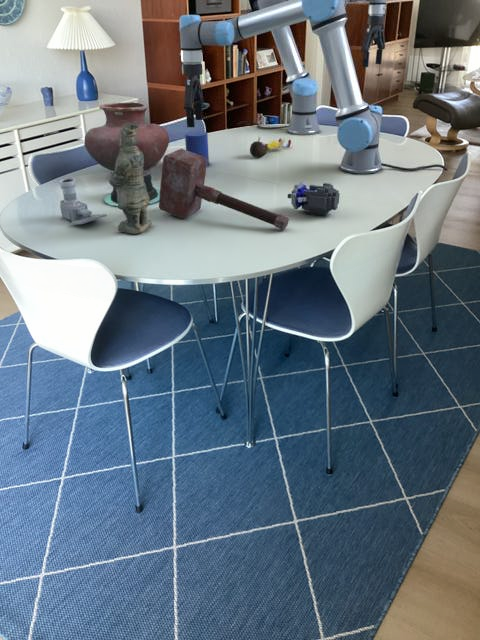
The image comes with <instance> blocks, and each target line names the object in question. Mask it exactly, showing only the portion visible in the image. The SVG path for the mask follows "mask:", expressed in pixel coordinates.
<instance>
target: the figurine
mask: <svg viewBox="0 0 480 640" xmlns="http://www.w3.org/2000/svg"><path fill="white" fill-rule="evenodd" d="M261 138H262V136H261V135H258V138H257V140H256V141H253V142H252V143H251V144H250V147H249V153H250V155H251V156H252V157H253V158H262V157H264V156H266V154H267V152H268V151H277V150H280V148H290V147H291V144H292V140H291V139H289V140H288V141H287V143H286V139H285V138H279V139H278V141H276V140H274V141H273V140H272V141H271V142H268V143H264V142H262V141H261Z"/></svg>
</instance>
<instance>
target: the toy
mask: <svg viewBox="0 0 480 640" xmlns="http://www.w3.org/2000/svg"><path fill="white" fill-rule="evenodd" d="M293 187H294V188H293V189H292V191H291V193H288V194H287V199H291V200H290V201H291V202H290V203H291V206H292V207H293V210H298V209H299V208H301V210H303V211H306V212H307V214H310V215H311V214H312V215H318V216H326V215H328V213H330V212H331V211H336V210H337V209H338V205H339V204H340V194H341V193H340V190H338V189H337V188H335V187H334V184H332V183H328V182H324V183H322V185H315V184H310V185H309V186H308V187H309V188H308V187H307V185H306V184H305V183H304V181H301V180H299V181H298V182H296V183H295V184H294V186H293Z"/></svg>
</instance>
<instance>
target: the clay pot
mask: <svg viewBox="0 0 480 640" xmlns="http://www.w3.org/2000/svg"><path fill="white" fill-rule="evenodd" d="M98 108H99V109H100V110H103V112H104V115H105V124H104V125H101V126H97V127H92V128H90V129H88V130H87V131H86V134H85V135H84V140H83V145H84V148H85V150H86V151H87V153H88V154H89V156H90V157H91V158H92V159H93V160H94V161H95V162H96V163H98V164H99V165H100V166H101V167H103V168H105V169H107V170H109V171H111V172H114V170H115V164H116V160H117V156H118V154H119V151H120V147H119V140H118V138H119V133H120V130H121V129H123V128H124V127H125V126H126V125H127V124H128V123H131V122H133V121H137V122H138V123H139V127H138V130H137V131H136V138H137V143H136V146H137V147H138V149H139V150H141V151H142V153H143V156H144V166H143V169H144V170H146V171H147V172H148V171H149V170H151V169H153V168H154V167H155V166H156V165H158V163H159V162H160V161H161V160H162V159H163V158H164V156H165V155H166V152H167V149H168V147H169V144H170V135H169V133H168V131H167V130H166V128H165V127H163V126H162V125H160V124H157V123H145V119H146V116H145V115H146V111H147V110H148V108H149V106H148V105H146V104H145V103H142V102H137V101H135V102H134V101H130V102H128V101H127V102H111V103H104V104H103V103H102V104H100V105H99V107H98Z"/></svg>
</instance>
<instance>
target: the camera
mask: <svg viewBox="0 0 480 640" xmlns="http://www.w3.org/2000/svg"><path fill="white" fill-rule="evenodd" d="M59 185H60V189H61V190H62V195H63V200H60V201H59V203H60V204H59V206H60V207H59V208H60V212H61V217H62V218H64V219H66V220H67V221H68V220H69V221H70V225H84V224H87V223H89V222H93V221H96V220H99V219H102V218H105V217H107V216H108V215H107V214H106V213H102V214H101V213H100V214H93V212H92V211H91V210H89V209H88V205H87V203H85V202H83V201H80V200H78V198H77V191H76V188H77V186H76V179H75V178H73V177H64V178H61V179H60V180H59Z"/></svg>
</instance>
